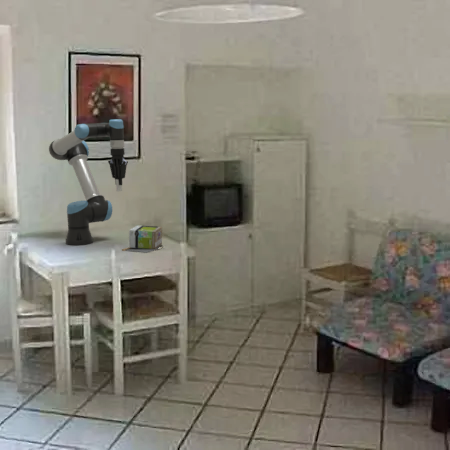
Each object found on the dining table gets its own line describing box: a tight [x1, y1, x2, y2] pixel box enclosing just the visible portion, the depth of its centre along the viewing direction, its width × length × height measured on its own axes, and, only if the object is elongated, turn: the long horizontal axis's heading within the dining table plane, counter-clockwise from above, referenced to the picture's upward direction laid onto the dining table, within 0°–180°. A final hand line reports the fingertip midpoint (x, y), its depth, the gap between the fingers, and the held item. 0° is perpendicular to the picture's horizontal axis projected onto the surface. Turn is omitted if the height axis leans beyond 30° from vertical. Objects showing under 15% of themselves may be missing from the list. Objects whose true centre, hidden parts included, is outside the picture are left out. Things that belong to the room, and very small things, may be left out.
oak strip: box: [121, 246, 132, 252], centre depth 413 cm, size 2×18×1 cm, turn 146°
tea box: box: [128, 225, 163, 249], centre depth 413 cm, size 15×10×15 cm
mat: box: [126, 246, 160, 254], centre depth 409 cm, size 14×16×1 cm
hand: (119, 191), depth 420 cm, fingers closed
